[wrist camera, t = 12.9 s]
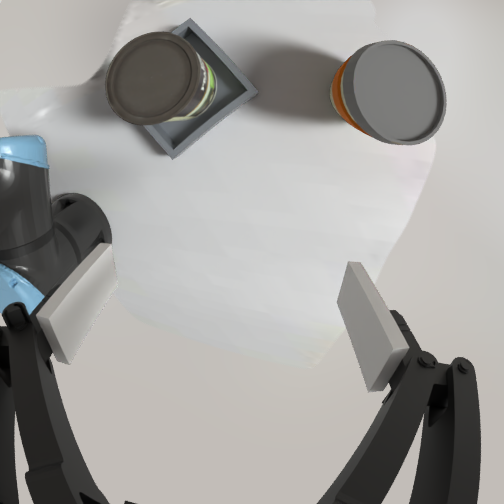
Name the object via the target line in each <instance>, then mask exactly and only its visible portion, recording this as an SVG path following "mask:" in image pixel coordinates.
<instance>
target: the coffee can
mask: <svg viewBox="0 0 504 504" xmlns="http://www.w3.org/2000/svg"><path fill="white" fill-rule="evenodd" d="M105 90H106V96H107V99H108V102H109V104H110V106H111V108H112V109H113V111H114V112H115V113H116V114H117V115H118V116H119V117H120V118H122V119H123V120H125V121H127V122H129V123H132V124H136V125H155V124H159V123H162V122H170V121H186V120H190V119H193V118H196V117H198V116H199V115H201V114H202V113H204V112H205V111H206V110H207V109H208V108H209V107H210V105H211V104H212V102H213V100H214V99H215V96H216V92H217V79H216V75H215V73H214V71H213V69H212V68H211V67H210V66H209V65H208V64H207V63H206V62H205V61H204V60H203V59H202V58H201V57H200V56H199V55H198V53H197V52H196V51H195V50H194V48H193V47H192V46H191V45H190V43H188V42H187V41H186V40H185V39H184V38H182V37H180V36H178V35H176V34H173V33H169V32H151V33H147V34H144V35H141V36H139V37H137V38H135V39H133V40H131V41H130V42H128V43H127V44H126V45H125V46H124V47H123V48H122V49H121V50H120V51H119V52H118V53H117V54H116V56H115V57H114V59H113V60H112V62H111V64H110V66H109V69H108V72H107V76H106V82H105Z"/></svg>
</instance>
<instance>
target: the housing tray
mask: <svg viewBox="0 0 504 504" xmlns="http://www.w3.org/2000/svg"><path fill="white" fill-rule="evenodd" d="M171 33H173V34H176V35H178V36H180V37H182V38H184V39H185V40H186V41H187V42H188V43H190V45H191V46H192V47H193V48H194V50H195V51H196V52H197V53H198V55H199V56H200V57H201V58H202V59H203V60H204V61H205V62H206V63H207V64H208V65H209V66H210V67H211V68H212V69H213V71H214V73H215V75H216V79H217V92H216V96H215V99H214V100H213V102H212V104H211V105H210V107H209V108H208V109H207V110H206V111H205V112H204V113H202V114H201V115H199V116H198V117H196V118H193V119H190V120H186V121H170V122H162V123H159V124H155V125H143V126H144V127H145V128H146V130H147V131H148V132H149V133H150V134H151V135H152V137H153V138H154V139H155V140H156V141H157V142H158V143H159V145H160V146H161V147H162V148H163V149H164V150H165V152H166V153H167V154H168V155H169V156H170V157H171V158H172V160H173V159H174V158H176V157H178V156H179V155H181V154H182V153H183V152H184V151H185V150H186V149H187V148H189V147H190V146H191V145H192V144H193V143H195V142H196V141H197V140H198V139H199V138H201V137H202V136H203V135H204V134H205V133H207V132H208V131H209V130H210V129H212V128H213V127H214V126H215V125H217V124H218V123H219V122H220V121H222V120H223V119H224V118H226V117H227V116H228V115H230V114H231V113H232V112H234V111H235V110H236V109H238V108H239V107H240V106H242V105H243V104H244V103H246V102H247V101H248V100H250V99H251V98H253V97H254V96H255V95H257V94H258V91H257V89H256V88H255V87H254V86H253V85H252V83H251V82H250V81H249V80H248V79H247V78H246V76H245V75H244V74H243V73H242V72H241V71H240V69H239V68H238V67H237V66H236V65H235V64H234V63H233V62H232V61H231V59H230V58H229V57H228V56H227V55H226V54H225V53H224V52H223V51H222V50H221V49H220V48H219V46H218V45H217V44H216V43H215V42H214V41H213V40H212V39H211V38H210V37H209V36H208V35H207V34H206V33H205V32H204V31H203V30H202V29H201V28H200V27H199V26H198V25H197V24H196V23H195V22H194V21H193V20H192V19H191V18H190V19H188V20H187V21H185V22H184V23H183V24H181V25H180V26H179V27H177V28H176V29H175V30H174V31H172V32H171Z"/></svg>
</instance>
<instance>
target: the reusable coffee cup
mask: <svg viewBox="0 0 504 504" xmlns="http://www.w3.org/2000/svg"><path fill="white" fill-rule="evenodd" d="M330 99H331V103H332V105H333V107H334V109H335V110H336V112H337V113H338V114H339V115H340V116H341V117H342V118H343V119H344V120H345V121H346V122H347V123H349V124H350V125H351V126H353V127H354V128H356V129H358V130H359V131H361V132H363V133H365V134H367V135H369V136H371V137H373V138H375V139H377V140H379V141H381V142H384V143H388V144H397V145H416V144H420V143H422V142H425V141H427V140H428V139H430V138H431V137H432V136H433V135H434V134H435V133H436V132H437V131H438V129H439V128H440V126H441V124H442V122H443V119H444V116H445V112H446V92H445V87H444V84H443V81H442V78H441V76H440V74H439V72H438V70H437V69H436V67H435V65H434V64H433V63H432V62H431V60H429V58H428V57H427V56H426V55H425V54H424V53H422V52H421V51H420V50H418V49H417V48H415V47H414V46H412V45H409V44H407V43H404V42H400V41H395V40H390V41H381V42H377V43H372V44H369V45H366V46H364V47H362V48H360V49H359V50H357V51H356V52H355V53H354V54H353V55H352V56H350V57H349V58H348V59H347V60H346V61H345V62H344V64H343V65H342V66H341V67H340V68H339V69H338V71H337V73H336V74H335V77H334V80H333V81H332V83H331V86H330Z"/></svg>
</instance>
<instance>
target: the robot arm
mask: <svg viewBox="0 0 504 504" xmlns="http://www.w3.org/2000/svg"><path fill="white" fill-rule="evenodd" d="M48 169H49V165H48V162H47V151H46V143H45V141H44V139H43V138H42V137H41V136H38V135H24V136H12V137H2V138H0V313H2V317H3V319H4V321H5V323H6V325H7V326H2V327H1V326H0V504H19V499H18V489H17V480H16V469H15V448H14V424H15V411H16V416H17V422H18V427H19V431H20V436H21V440H22V444H23V448H24V452H25V455H26V459H27V462H28V465H29V471H28V472H26V473H25V479H26V484H27V486H28V489H29V492H30V495H31V497H32V500H33V503H34V504H109V502H108V501H107V499H106V498H105V496H104V495H103V494H102V492H101V491H100V490H99V489H98V487H97V486H96V484H95V482H94V480H93V478H92V476H91V474H90V472H89V470H88V468H87V466H86V463H85V461H84V459H83V457H82V454H81V452H80V450H79V447H78V445H77V443H76V440H75V437H74V435H73V432H72V430H71V427H70V424H69V421H68V418H67V415H66V412H65V409H64V406H63V403H62V399H61V396H60V392H59V389H58V385H57V382H56V378H55V374H54V370H53V365H52V362H51V360H50V356H51V354H52V353H53V354H54V356H55V358H56V360H57V361H58V362H62V363H65V364H68V365H70V364H71V362H72V360H73V358H74V356H75V355H76V353H77V351H78V349H79V348H80V346H81V344H82V343H83V341H84V339H85V337H86V336H87V334H88V332H89V331H90V329H91V327H92V326H93V324H94V322H95V321H96V319H97V317H98V316H99V314H100V313H101V311H102V310H103V308H104V306H105V305H106V303H107V302H108V300H109V299H110V297H111V295H112V294H113V292H114V291H115V289H116V288H117V286H118V279H117V274H116V268H115V262H114V256H113V250H112V234H111V229H110V225H109V222H108V220H107V218H106V216H105V214H104V213H103V211H102V210H101V208H100V207H99V206H98V205H97V204H96V203H95V202H94V201H93V200H91V199H90V198H88V197H86V196H84V195H81V194H75V193H72V194H67V195H64V196H62V197H60V198H59V199H57V200H56V201H54V202H53V203H52V204H51V198H50V187H49V172H48ZM337 304H338V307H339V309H340V312H341V315H342V317H343V320H344V323H345V325H346V328H347V331H348V334H349V337H350V339H351V342H352V345H353V348H354V351H355V354H356V356H357V359H358V362H359V365H360V368H361V371H362V374H363V378H364V380H365V384H366V387H367V390H368V392H376V391H383V390H384V389H385V387H386V386H387V384H388V383H389V384H390V387H391V390H390V392H389V393H388V395H387V396H386V397H385V399H384V400H383V402H382V403H383V405H382V407H381V408H380V410H379V412H378V414H377V416H376V418H375V419H374V421H373V423H372V425H371V426H370V428H369V430H368V432H367V433H366V435H365V437H364V438H363V440H362V441H361V443H360V445H359V446H358V448H357V449H356V451H355V452H354V454H353V455H352V457H351V458H350V460H349V461H348V463H347V464H346V466H345V467H344V469H343V470H342V471H341V473H340V474H339V476H338V477H337V479H336V480H335V481H334V483H333V484H332V485H331V486H330V488H329V489H328V490H327V492H326V493H325V495H323V497H322V498H321V499H320V500H319V502H318V503H317V504H381V503H382V501H383V500H384V498H385V496H386V494H387V493H388V491H389V489H390V487H391V485H392V483H393V482H394V480H395V478H396V476H397V474H398V472H399V470H400V468H401V466H402V464H403V462H404V460H405V458H406V456H407V454H408V451H409V449H410V447H411V445H412V442H413V440H414V437H415V435H416V432H417V430H418V428H419V425H420V422H421V420H422V417H423V414H424V420H423V430H422V438H421V447H420V453H419V459H418V465H417V471H416V476H415V481H414V485H413V490H412V494H411V498H410V502H409V504H477V500H478V490H479V480H480V463H481V431H480V411H479V400H478V390H477V382H476V374H475V370H474V366H473V365H472V363H471V362H470V361H468V360H467V359H465V358H463V357H457V358H455V359H454V360H453V362H452V363H451V364H450V365H448V364H442V363H438V362H437V360H436V358H435V357H434V356H433V355H432V354H430V353H429V352H426V351H422V350H421V348H420V346H419V344H418V343H417V341H416V339H415V337H414V335H413V334H412V332H411V331H410V329H409V327H408V325H407V323H406V322H405V320H404V318H403V317H402V316H401V315H400V314H399V313H398V312H397V311H396V310H389V309H388V308H387V306H386V304H385V302H384V300H383V299H382V297H381V296H380V294H379V292H378V290H377V289H376V287H375V285H374V283H373V282H372V280H371V279H370V277H369V275H368V274H367V272H366V270H365V269H364V267H363V266H362V264H361V262H348V264H347V268H346V271H345V275H344V279H343V282H342V286H341V289H340V293H339V296H338V300H337ZM124 504H135V503H132V502H128V501H125V503H124Z"/></svg>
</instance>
